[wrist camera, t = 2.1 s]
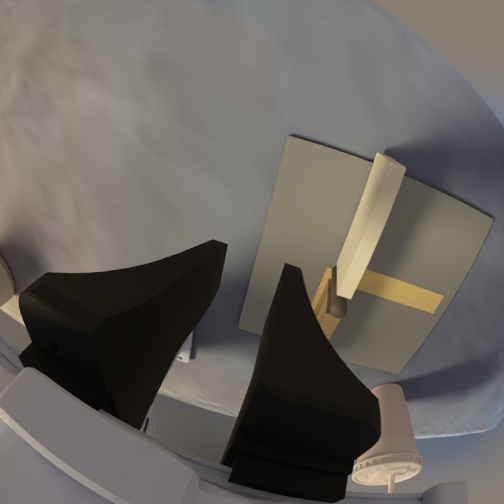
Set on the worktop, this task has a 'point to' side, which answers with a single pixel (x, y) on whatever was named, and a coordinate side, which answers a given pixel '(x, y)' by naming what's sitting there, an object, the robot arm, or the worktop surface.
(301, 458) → the robot arm
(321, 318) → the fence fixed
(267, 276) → the mat
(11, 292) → the jar
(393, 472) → the smoothie
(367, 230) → the fence panel
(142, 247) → the worktop surface
